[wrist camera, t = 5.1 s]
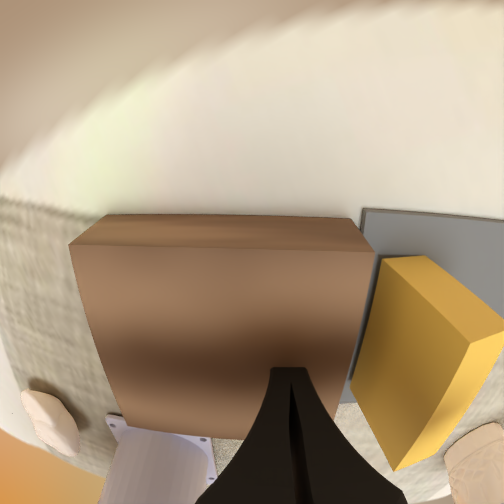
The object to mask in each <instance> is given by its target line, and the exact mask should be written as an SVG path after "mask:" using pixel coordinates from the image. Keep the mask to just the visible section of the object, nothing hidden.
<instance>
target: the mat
mask: <svg viewBox="0 0 504 504" xmlns="http://www.w3.org/2000/svg"><path fill="white" fill-rule="evenodd" d="M360 232H361V233H362V235H363V236H364V237H365V239H366V240H367V242H368V243H369V244H370V246H371V247H372V249H373V250H374V251H375V257H374V262H373V268H372V273H371V278H370V283H369V288H368V293H367V298H366V302H365V307H364V311H363V316H362V320H361V324H360V329H359V333H358V337H357V341H356V345H355V349H354V352H353V356H352V360H351V364H350V367H349V371H348V374H347V378H346V381H345V385H344V388H343V392H342V395H341V398H340V401H339V404H342V403H357V401H356V399H355V397H354V395H353V393H352V391H351V389H350V388H349V387H350V384H351V381H352V377H353V374H354V371H355V367H356V364H357V361H358V357H359V354H360V350H361V347H362V343H363V339H364V335H365V332H366V328H367V324H368V320H369V316H370V312H371V308H372V303H373V299H374V295H375V290H376V286H377V281H378V276H379V271H380V266H381V261H382V259H386V258H398V257H410V256H422V255H425V256H427V257H428V258H429V259H430V260H432V261H433V262H434V263H436V264H437V265H438V266H440V267H441V268H442V269H444V270H445V271H446V272H447V273H449V274H450V275H451V276H452V277H454V278H455V279H456V280H458V281H459V282H460V283H461V284H462V285H464V286H465V287H466V288H467V289H469V290H470V291H471V292H472V293H474V294H475V295H476V296H477V297H478V298H480V299H481V300H482V301H483V302H484V303H485V304H487V305H488V306H489V307H490V308H491V309H492V310H494V311H495V312H496V313H497V314H498V315H499V316H501V317H502V318H503V319H504V221H503V220H494V219H485V218H475V217H466V216H455V215H445V214H433V213H421V212H409V211H395V210H380V209H364V208H363V214H362V222H361V229H360Z"/></svg>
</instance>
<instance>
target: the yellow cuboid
mask: <svg viewBox="0 0 504 504" xmlns="http://www.w3.org/2000/svg"><path fill="white" fill-rule="evenodd" d="M503 346H504V319H503V318H502V317H501V316H499V315H498V314H497V313H496V312H495V311H494V310H492V309H491V308H490V307H489V306H488V305H487V304H485V303H484V302H483V301H482V300H481V299H480V298H478V297H477V296H476V295H475V294H474V293H472V292H471V291H470V290H469V289H467V288H466V287H465V286H464V285H462V284H461V283H460V282H459V281H458V280H456V279H455V278H454V277H452V276H451V275H450V274H449V273H447V272H446V271H445V270H444V269H442V268H441V267H440V266H438V265H437V264H436V263H434V262H433V261H432V260H430V259H429V258H428V257H427V256H425V255H422V256H410V257H398V258H386V259H382V261H381V266H380V271H379V276H378V281H377V286H376V290H375V295H374V299H373V303H372V308H371V312H370V316H369V320H368V324H367V328H366V332H365V335H364V339H363V343H362V347H361V350H360V354H359V357H358V361H357V364H356V367H355V371H354V374H353V377H352V381H351V384H350V387H349V388H350V389H351V391H352V393H353V395H354V397H355V399H356V401H357V403H358V405H359V406H360V408H361V410H362V412H363V414H364V416H365V418H366V420H367V422H368V424H369V425H370V427H371V429H372V431H373V433H374V435H375V437H376V439H377V441H378V443H379V445H380V447H381V448H382V450H383V452H384V454H385V456H386V458H387V460H388V462H389V464H390V466H391V468H392V470H393V472H394V471H397V470H399V469H402V468H404V467H407V466H409V465H412V464H414V463H416V462H419V461H421V460H423V459H426V458H428V457H430V456H432V455H434V454H435V453H436V452H437V451H438V449H439V448H440V447H441V446H442V444H443V443H444V442H445V440H446V439H447V438H448V436H449V435H450V434H451V432H452V431H453V429H454V428H455V427H456V425H457V424H458V422H459V421H460V419H461V418H462V416H463V415H464V413H465V412H466V410H467V409H468V407H469V406H470V404H471V403H472V401H473V400H474V398H475V396H476V395H477V393H478V392H479V390H480V388H481V387H482V385H483V383H484V381H485V380H486V378H487V376H488V374H489V373H490V371H491V369H492V367H493V365H494V364H495V362H496V360H497V358H498V356H499V354H500V352H501V350H502V348H503Z"/></svg>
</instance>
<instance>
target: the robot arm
mask: <svg viewBox="0 0 504 504" xmlns="http://www.w3.org/2000/svg"><path fill="white" fill-rule="evenodd" d="M105 420H106V422H107V424H108V426H109V428H110V430H111V432H112V434H113V436H114V437H115V439H116V441H117V443H118V446H117V449H116V452H115V454H114V457H113V460H112V463H111V466H110V469H109V472H108V474H107V477H106V481H105V483H104V487H103V489H102V492H101V495H100V498H99V501H98V504H408V503H407V501H406V498H405V496H404V494H403V492H402V490H400V489H399V488H398V487H396V486H395V485H393V484H392V483H391V482H389V481H388V480H387V479H386V478H384V477H383V476H382V475H381V474H380V473H378V472H377V471H376V470H375V469H374V468H373V467H372V466H371V465H370V464H369V463H368V462H367V461H366V460H365V459H364V458H363V457H362V456H361V455H360V454H359V453H358V452H357V451H356V450H355V449H354V448H353V446H352V445H351V444H350V443H349V442H348V440H347V439H346V438H345V437H344V435H343V434H342V433H341V431H340V430H339V429H338V427H337V426H336V424H335V423H334V421H333V420H332V418H331V417H330V415H329V413H328V412H327V410H326V408H325V407H324V405H323V403H322V401H321V400H320V398H319V396H318V394H317V392H316V390H315V388H314V386H313V383H312V381H311V379H310V376H309V374H308V371H307V369H306V368H305V367H272V368H271V369H270V378H269V383H268V387H267V390H266V394H265V397H264V399H263V402H262V405H261V408H260V410H259V412H258V414H257V417H256V419H255V421H254V423H253V425H252V427H251V429H250V431H249V433H248V435H247V436H246V438H245V440H244V442H243V443H242V445H241V446H240V448H239V449H238V451H237V453H236V454H235V456H234V457H233V458H232V460H231V461H230V463H229V464H228V465H227V466H226V468H225V469H224V470H223V471H222V473H221V474H220V475H219V476H217V470H216V464H215V459H214V453H213V447H212V441H211V438H209V437H198V436H189V435H181V434H173V433H166V432H159V431H153V430H147V429H141V428H135V427H130V426H127V424H126V422H125V420H124V417H121V416H116V415H110V414H108V415H107V416H106V418H105ZM207 484H211V485H210V486H209V487H208V488H207V489H206V485H207ZM501 504H504V502H503V503H501Z"/></svg>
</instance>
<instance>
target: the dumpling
mask: <svg viewBox="0 0 504 504" xmlns="http://www.w3.org/2000/svg"><path fill="white" fill-rule="evenodd" d="M29 389H30V388H28V389H26V390H23V391H22V393H21V401H22V404H23V406H24V408H25V410H26V411H27V412H28V414H29V415H30V418H31V420H32V422H33V425H34V429H35V431H36V433H37V436H38V437H39V439H41V440H42V441H43V442H45V443H46V444H48V445H49V446H52V447H54V448H55V449H56V450H57V451H58V452H60V453H62V454H64V455H66V456H70V457H76V456H77V455H78V453H79V449H80V437H79V431H78V428H77V425H76V423H75V421H74V419H73V417H72V416H71V415H70V413H69V412H68V410H66V408H65V407H64V405H63V404H62V402H61V401H60V400H59V399H57V398H56V397H54V396H52V395H50V394H46V393H42V392H38V391H31V390H29ZM12 414H13V413H12Z"/></svg>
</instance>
